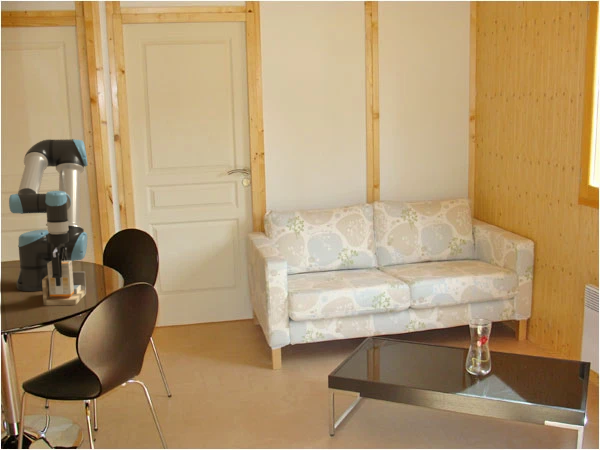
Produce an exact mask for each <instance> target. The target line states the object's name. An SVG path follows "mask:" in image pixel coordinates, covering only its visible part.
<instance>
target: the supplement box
mask: <svg viewBox="0 0 600 450" xmlns="http://www.w3.org/2000/svg"><path fill="white" fill-rule="evenodd" d="M61 265H62V277H63V294H56V291H55V278H52V276H53V273H52V261H50V262H49V263H48V264H47V267H48V280H49V293H50V296H71V295H72V294H73V293H74V285H73V272H74V271H73V261H62V264H61Z"/></svg>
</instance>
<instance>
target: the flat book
mask: <svg viewBox="0 0 600 450" xmlns="http://www.w3.org/2000/svg"><path fill="white" fill-rule="evenodd" d="M80 290H81V285H74V293H73V294H77V293H78V292H79V291H80Z"/></svg>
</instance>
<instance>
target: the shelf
mask: <svg viewBox="0 0 600 450" xmlns="http://www.w3.org/2000/svg"><path fill="white" fill-rule="evenodd" d="M86 282H87V281H86V271H73V285H81V290H80V291H79V292H78V293H77V294H72V295H71V296H50V293H49V280H48V275H47V276H46V277H45V278H43V279H42V288H43V290H42V301H43V306H76V305H77V304H78V303H79V302H80V301H81V300H82V299H83V297H85V295H86V294H87V285H86Z"/></svg>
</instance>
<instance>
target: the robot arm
mask: <svg viewBox="0 0 600 450" xmlns="http://www.w3.org/2000/svg"><path fill="white" fill-rule="evenodd" d="M23 164H24V167H23V168H24V170H23V173H22V176H21V180H20V183H19V186H18V191H17V193H12V194H10V195H9V196H8V197H9V198H8V206H9V211H10V213H12V214H20V215H21V214H22V215H23V214H46V223H45V226H46V227H47V229H37V230H30V231H27V232H23V233H21V234H19V236H18V245H17V247H18V254H19V257H18V258H19V272H18V277H17V280H16V289H17V290H19V291H23V292H39V291H43V288H42V279H43V278H45V277H46V276H47V275H48V267H47V264H48V263H49V262H50V261H52V273H53V276H52V278H55V291H56V294H63V277H62V265H61V264H62V261H72V262H75V261H82V260H83V259H84V258H85V257H86V253H87V247H88V233H87V232H86V231H85V230H84V227H82V226H81V174H82V173H83V172H84V171H85V168H86V167H87V166H88V157H87V151H86V145H85V142H84V140H82V139H76V138H75V139H74V138H72V139H71V138H70V139H51V138H50V139H43V140H41V141H38V142H36V143H35V144H33V145H32V146H31V147H30V148H29V149H28V150H27V151H26V154H25V156H24V158H23ZM49 167H55V171H57V172H58V173H59V175H58V190H51V191H47V192H46V193H40V189H41V185H42V181H43V177H44V176H43V175H44V171H45V170H46V169H47V168H49Z"/></svg>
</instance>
